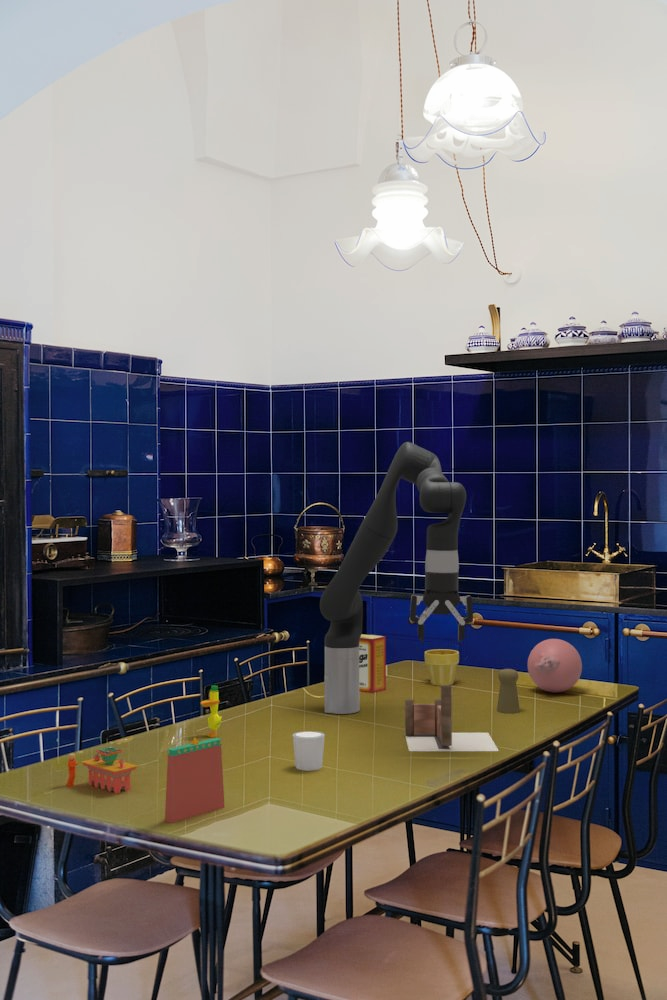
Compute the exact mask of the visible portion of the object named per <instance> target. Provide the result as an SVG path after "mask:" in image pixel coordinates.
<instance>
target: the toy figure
mask: <svg viewBox="0 0 667 1000" xmlns="http://www.w3.org/2000/svg"><path fill="white" fill-rule="evenodd" d="M218 687H219V686H218V685H211V688H210V689H209V699H205V700H202V701H201V702H200V705H201V706H202V707H204V708H208V707H209V708H210V714H209V716H208V718H207V722H206V723H207V727H208V728H209V729H210V730H211V732H210V733H207V736H206V737H209V738H217V737H218V734H217V730H219V728H220V726H221V725H222V715H219V714H218V712H219V711H218V710H219V703H220V702H221V700H219V691H220V690H219V689H218Z"/></svg>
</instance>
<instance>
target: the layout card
mask: <svg viewBox="0 0 667 1000" xmlns="http://www.w3.org/2000/svg"><path fill="white" fill-rule="evenodd" d="M404 737H405V740H406V744H407V745H406V746H407V748H408V752H499V751H500V750H499V749H498V747H497V745H496V744H495V741H494V740H493V739H492V737H491V735H490V733H489V732H452V745H451V746H442V745H441V741H440V739H439V737H438V736H435V734H414V736H405V735H404Z"/></svg>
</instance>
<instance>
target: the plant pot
mask: <svg viewBox="0 0 667 1000" xmlns="http://www.w3.org/2000/svg"><path fill="white" fill-rule="evenodd" d="M459 662H460V652H459V651H458V650H455V649H446V648H445V649H442V648H441V649H440V648H438V649H428V650H426V651H424V663H425V664H426V666H427V671H428V675H429V678H430V679H429V680H430V684H431V685H432V686H436V685H437V687H438V686H440V687H441V686H443V685H449V686H452V685H453V684H454V683H455V677H456V671H457V667H458V666H457V665H458V664H459Z"/></svg>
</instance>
